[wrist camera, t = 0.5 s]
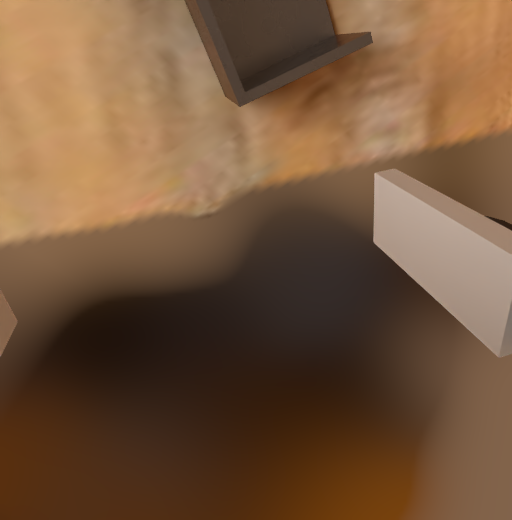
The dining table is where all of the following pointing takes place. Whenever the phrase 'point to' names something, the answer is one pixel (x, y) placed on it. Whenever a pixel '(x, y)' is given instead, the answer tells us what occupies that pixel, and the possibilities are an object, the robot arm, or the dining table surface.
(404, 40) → the dining table surface
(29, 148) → the dining table surface
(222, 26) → the bottle rest
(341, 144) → the dining table surface
